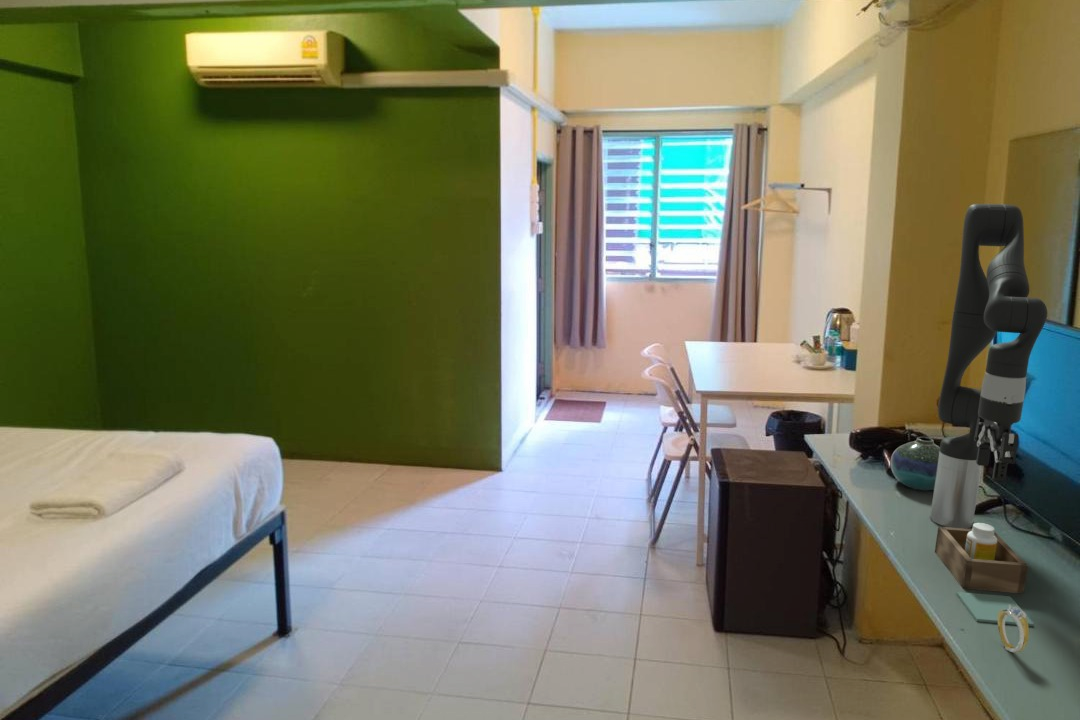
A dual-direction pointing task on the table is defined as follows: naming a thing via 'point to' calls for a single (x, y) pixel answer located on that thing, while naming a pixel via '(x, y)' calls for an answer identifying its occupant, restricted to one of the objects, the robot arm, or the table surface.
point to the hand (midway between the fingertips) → (990, 472)
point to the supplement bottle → (981, 542)
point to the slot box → (980, 563)
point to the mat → (989, 607)
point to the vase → (916, 463)
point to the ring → (1023, 631)
